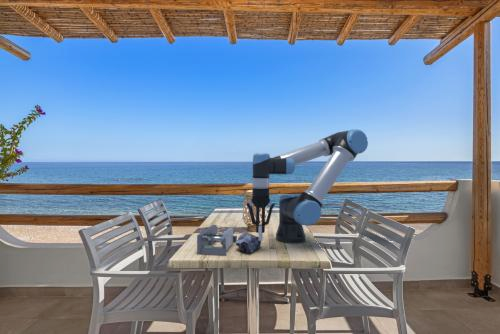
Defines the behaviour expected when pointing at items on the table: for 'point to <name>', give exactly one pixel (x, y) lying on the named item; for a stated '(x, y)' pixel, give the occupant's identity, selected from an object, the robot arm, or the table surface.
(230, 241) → the gauge plunger
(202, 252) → the frame
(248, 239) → the rock
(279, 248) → the table surface
